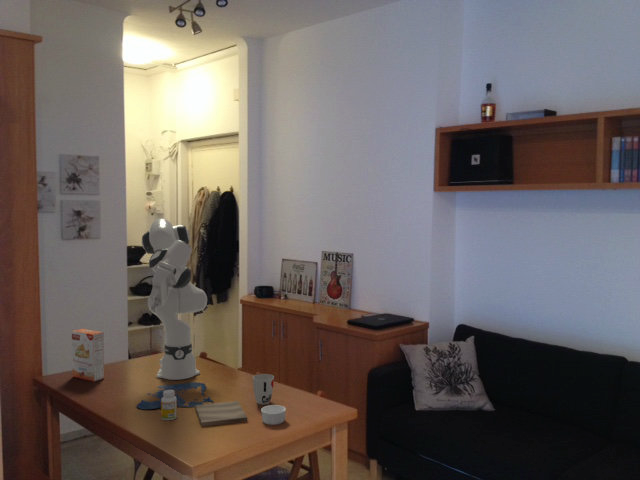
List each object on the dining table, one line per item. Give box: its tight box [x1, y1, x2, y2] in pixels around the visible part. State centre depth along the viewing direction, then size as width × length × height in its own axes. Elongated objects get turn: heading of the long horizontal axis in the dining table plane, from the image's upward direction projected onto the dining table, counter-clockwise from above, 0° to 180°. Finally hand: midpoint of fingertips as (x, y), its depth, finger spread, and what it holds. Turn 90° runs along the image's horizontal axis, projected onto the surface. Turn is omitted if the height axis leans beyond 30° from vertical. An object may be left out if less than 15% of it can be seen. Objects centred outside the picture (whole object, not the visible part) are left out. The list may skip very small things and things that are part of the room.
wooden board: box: [194, 400, 248, 427], centre depth 212 cm, size 18×16×2 cm
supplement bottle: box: [160, 390, 178, 421], centre depth 209 cm, size 5×5×10 cm
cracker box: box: [71, 328, 105, 383], centre depth 256 cm, size 14×6×21 cm, turn 60°
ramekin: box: [260, 404, 287, 426], centre depth 207 cm, size 9×9×4 cm
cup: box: [252, 373, 275, 405], centre depth 226 cm, size 8×8×10 cm
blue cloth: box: [136, 381, 214, 410], centre depth 234 cm, size 27×29×1 cm
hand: (151, 304), depth 219 cm, fingers open, 8 cm apart
